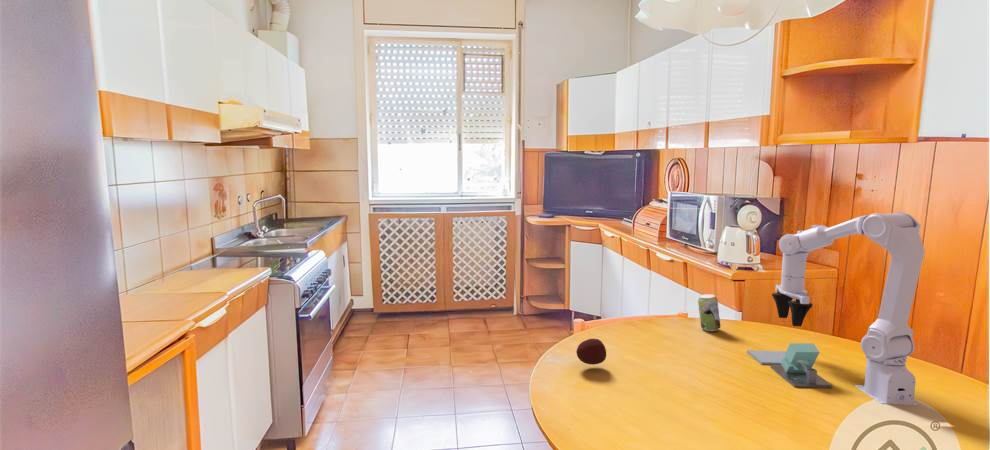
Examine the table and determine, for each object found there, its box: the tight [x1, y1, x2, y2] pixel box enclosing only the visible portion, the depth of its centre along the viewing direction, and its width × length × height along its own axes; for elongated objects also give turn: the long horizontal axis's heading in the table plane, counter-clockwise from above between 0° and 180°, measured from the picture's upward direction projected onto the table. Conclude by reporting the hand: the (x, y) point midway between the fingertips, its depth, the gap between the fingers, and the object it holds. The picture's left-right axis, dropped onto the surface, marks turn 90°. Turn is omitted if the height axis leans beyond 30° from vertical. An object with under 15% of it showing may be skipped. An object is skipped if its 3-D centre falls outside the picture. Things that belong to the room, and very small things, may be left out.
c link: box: [781, 342, 821, 373], centre depth 126 cm, size 3×6×8 cm, turn 90°
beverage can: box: [697, 293, 721, 332], centre depth 162 cm, size 6×7×12 cm
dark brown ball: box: [576, 338, 607, 365], centre depth 134 cm, size 7×8×7 cm
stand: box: [770, 360, 833, 389], centre depth 125 cm, size 12×9×4 cm
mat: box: [746, 349, 787, 366], centre depth 138 cm, size 9×12×1 cm
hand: (789, 321), depth 140 cm, fingers open, 7 cm apart
